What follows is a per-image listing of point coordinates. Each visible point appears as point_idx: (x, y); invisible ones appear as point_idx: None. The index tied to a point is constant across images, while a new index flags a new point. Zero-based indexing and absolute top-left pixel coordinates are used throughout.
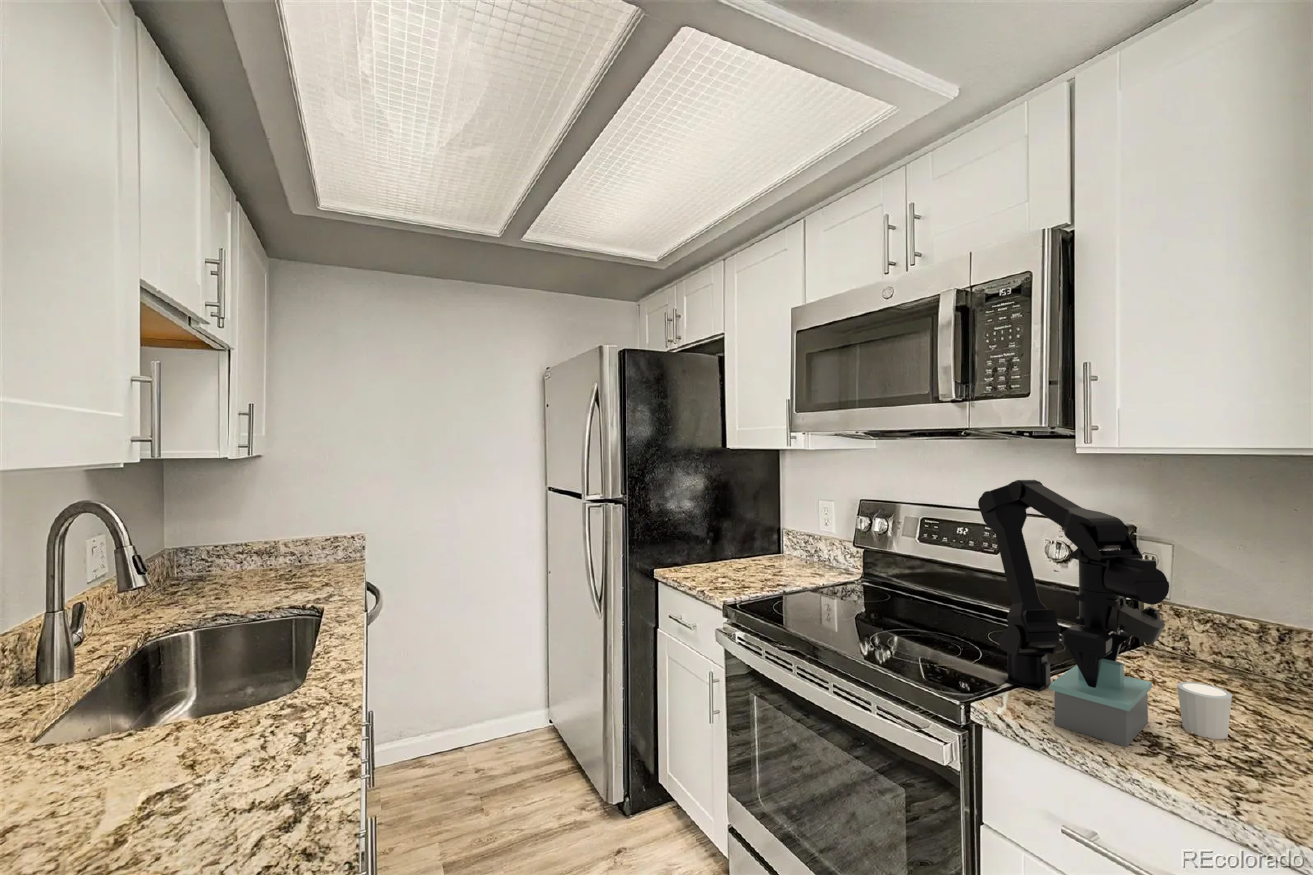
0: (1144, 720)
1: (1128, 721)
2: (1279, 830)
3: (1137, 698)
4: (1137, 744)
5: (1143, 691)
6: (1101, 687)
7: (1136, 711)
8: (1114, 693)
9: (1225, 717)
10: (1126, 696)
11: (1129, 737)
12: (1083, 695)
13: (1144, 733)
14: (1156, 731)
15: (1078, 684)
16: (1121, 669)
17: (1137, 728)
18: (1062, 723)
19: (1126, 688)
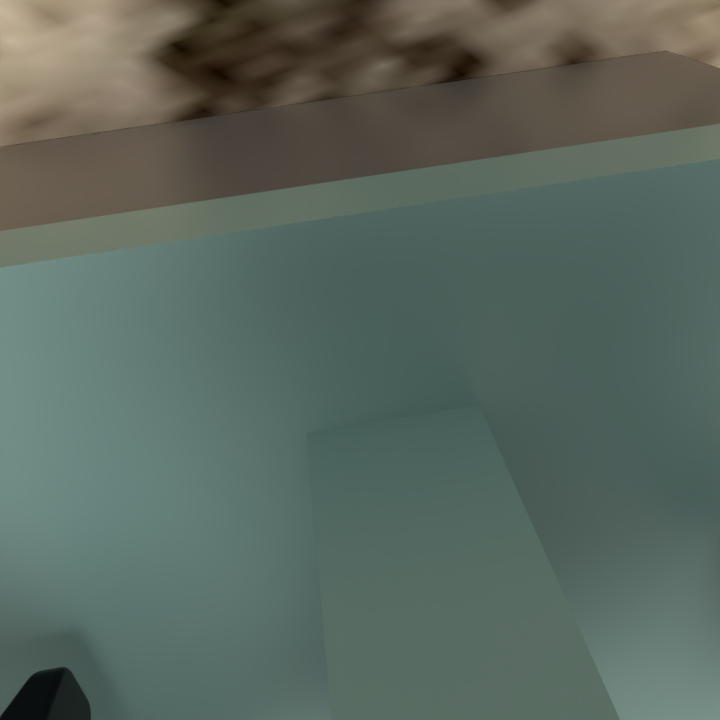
0: (75, 150)
1: (713, 105)
2: None
3: (568, 169)
4: (533, 21)
5: (199, 230)
6: (564, 531)
7: (383, 160)
8: (686, 387)
9: None
10: (704, 266)
11: (607, 72)
12: None
13: (237, 77)
14: (83, 28)
15: (638, 643)
16: (495, 680)
17: (336, 112)
18: None
19: (341, 394)
